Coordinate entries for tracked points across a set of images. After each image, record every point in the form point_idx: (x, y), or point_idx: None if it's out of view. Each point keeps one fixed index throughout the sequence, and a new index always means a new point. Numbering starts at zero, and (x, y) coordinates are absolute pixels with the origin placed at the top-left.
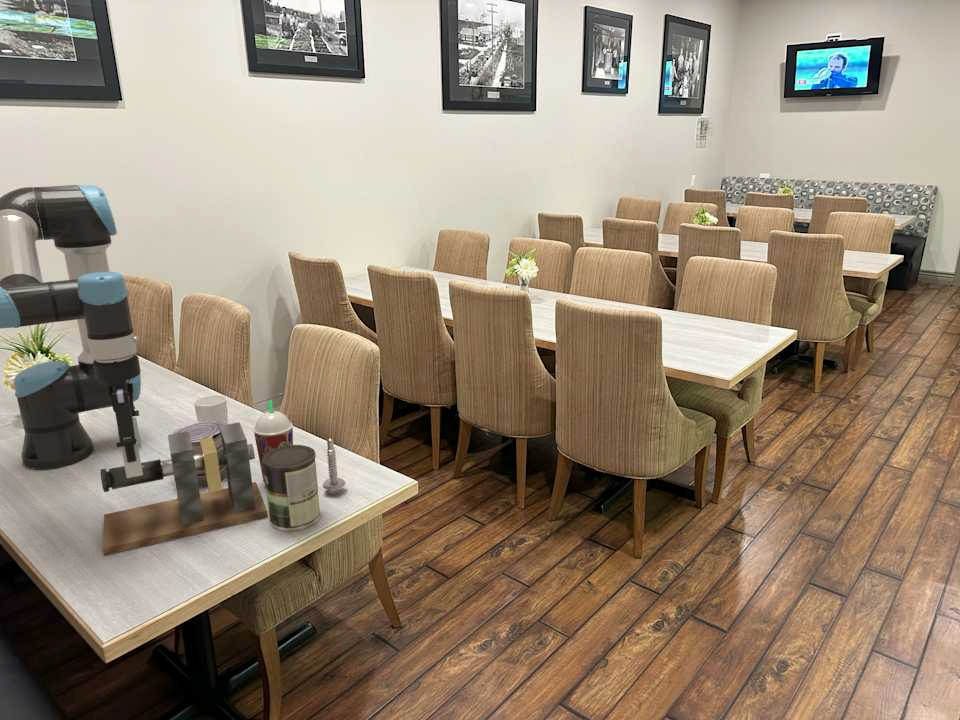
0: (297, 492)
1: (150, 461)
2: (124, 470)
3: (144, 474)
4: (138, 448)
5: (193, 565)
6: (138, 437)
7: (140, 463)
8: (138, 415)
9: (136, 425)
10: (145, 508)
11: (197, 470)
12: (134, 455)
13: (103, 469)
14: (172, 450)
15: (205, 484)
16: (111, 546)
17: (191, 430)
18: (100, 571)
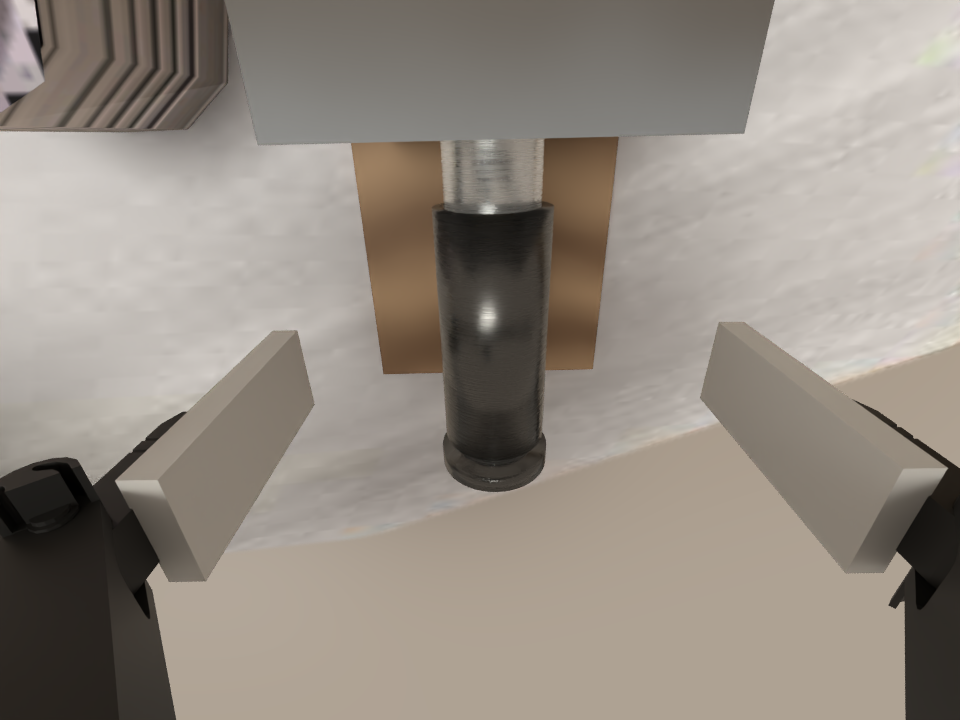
0: None
1: (489, 275)
2: (524, 397)
3: (548, 299)
4: (300, 348)
5: (815, 111)
6: (263, 375)
7: (791, 359)
8: (82, 469)
9: (209, 436)
10: (390, 260)
11: (173, 16)
12: (905, 434)
13: (492, 482)
14: (674, 110)
15: (220, 3)
16: (593, 348)
17: None
18: (660, 361)
